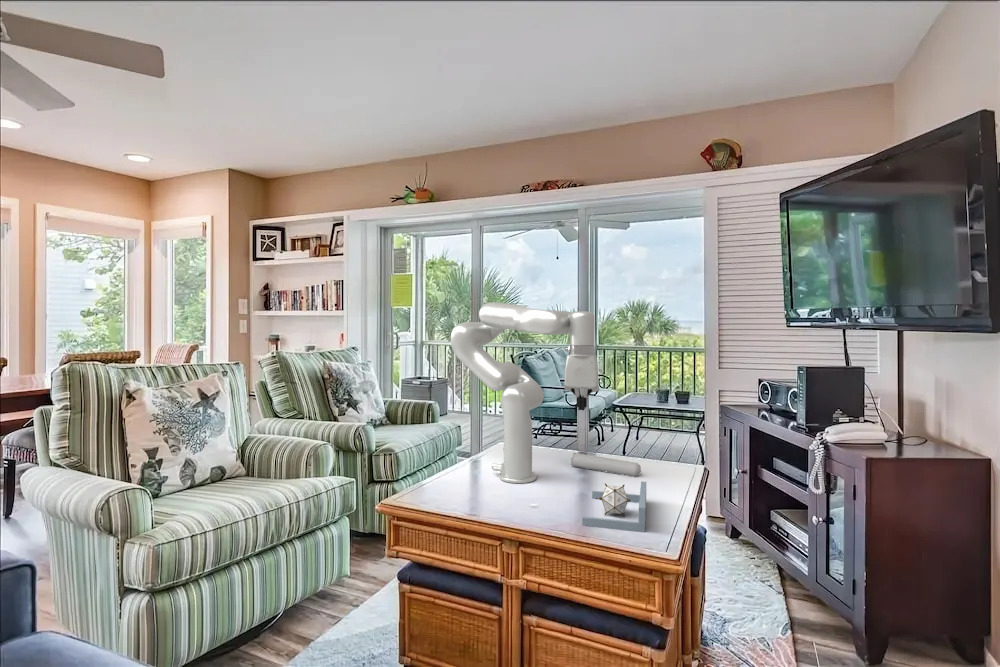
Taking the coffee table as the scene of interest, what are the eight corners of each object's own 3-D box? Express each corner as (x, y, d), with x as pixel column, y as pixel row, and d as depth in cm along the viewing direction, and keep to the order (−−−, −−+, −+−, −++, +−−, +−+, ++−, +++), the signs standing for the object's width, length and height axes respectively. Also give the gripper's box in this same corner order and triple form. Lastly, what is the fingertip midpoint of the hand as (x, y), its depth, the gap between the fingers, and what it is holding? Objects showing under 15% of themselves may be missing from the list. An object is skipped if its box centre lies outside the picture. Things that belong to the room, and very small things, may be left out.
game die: (618, 525, 146) (638, 495, 148) (619, 525, 138) (639, 493, 140) (591, 506, 149) (610, 475, 151) (590, 504, 141) (610, 473, 143)
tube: (644, 463, 183) (577, 453, 196) (639, 462, 178) (571, 451, 192) (642, 479, 181) (575, 467, 195) (637, 478, 177) (569, 466, 191)
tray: (582, 525, 137) (582, 502, 136) (592, 497, 159) (592, 477, 158) (644, 532, 132) (644, 508, 132) (646, 502, 154) (646, 481, 154)
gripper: (556, 351, 164) (555, 410, 164) (605, 352, 159) (604, 412, 160) (560, 350, 171) (559, 406, 171) (607, 350, 167) (607, 409, 167)
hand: (581, 409), depth 166 cm, fingers closed
